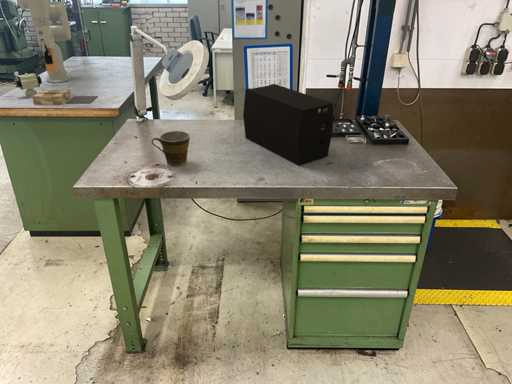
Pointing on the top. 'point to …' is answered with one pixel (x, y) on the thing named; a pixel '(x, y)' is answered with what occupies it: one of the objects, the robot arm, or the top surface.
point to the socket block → (51, 97)
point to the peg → (53, 66)
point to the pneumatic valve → (28, 83)
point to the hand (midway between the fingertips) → (50, 62)
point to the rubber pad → (82, 99)
